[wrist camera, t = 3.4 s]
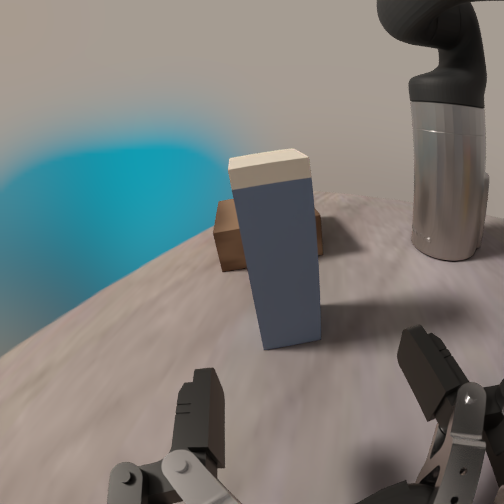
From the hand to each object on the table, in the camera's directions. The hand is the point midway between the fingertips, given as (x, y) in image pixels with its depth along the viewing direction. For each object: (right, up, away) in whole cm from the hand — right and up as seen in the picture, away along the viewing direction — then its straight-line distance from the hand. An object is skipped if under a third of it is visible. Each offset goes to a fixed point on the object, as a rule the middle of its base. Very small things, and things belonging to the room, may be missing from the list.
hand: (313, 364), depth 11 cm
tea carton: (+1, -2, +13) cm, 13 cm away
